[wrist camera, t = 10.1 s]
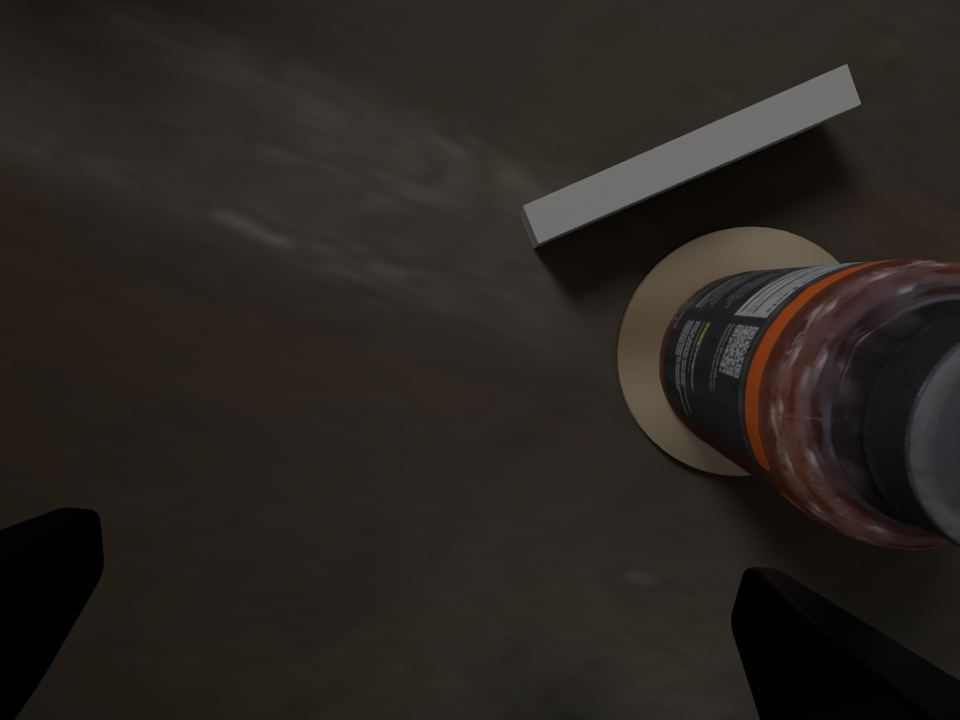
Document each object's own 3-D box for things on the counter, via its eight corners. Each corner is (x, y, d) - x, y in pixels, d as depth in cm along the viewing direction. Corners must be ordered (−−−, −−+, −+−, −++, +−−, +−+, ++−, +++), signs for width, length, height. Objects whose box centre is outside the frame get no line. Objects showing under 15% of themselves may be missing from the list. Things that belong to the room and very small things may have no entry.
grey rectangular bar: (802, 91, 20) (847, 63, 17) (815, 126, 20) (861, 104, 18) (519, 215, 21) (523, 205, 18) (533, 248, 21) (538, 243, 18)
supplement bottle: (843, 428, 21) (1261, 599, 9) (668, 460, 21) (870, 664, 10) (820, 253, 20) (1240, 211, 9) (639, 289, 20) (821, 293, 9)
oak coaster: (852, 474, 21) (860, 478, 21) (610, 469, 22) (613, 473, 21) (874, 229, 20) (883, 228, 20) (621, 226, 21) (624, 225, 20)
